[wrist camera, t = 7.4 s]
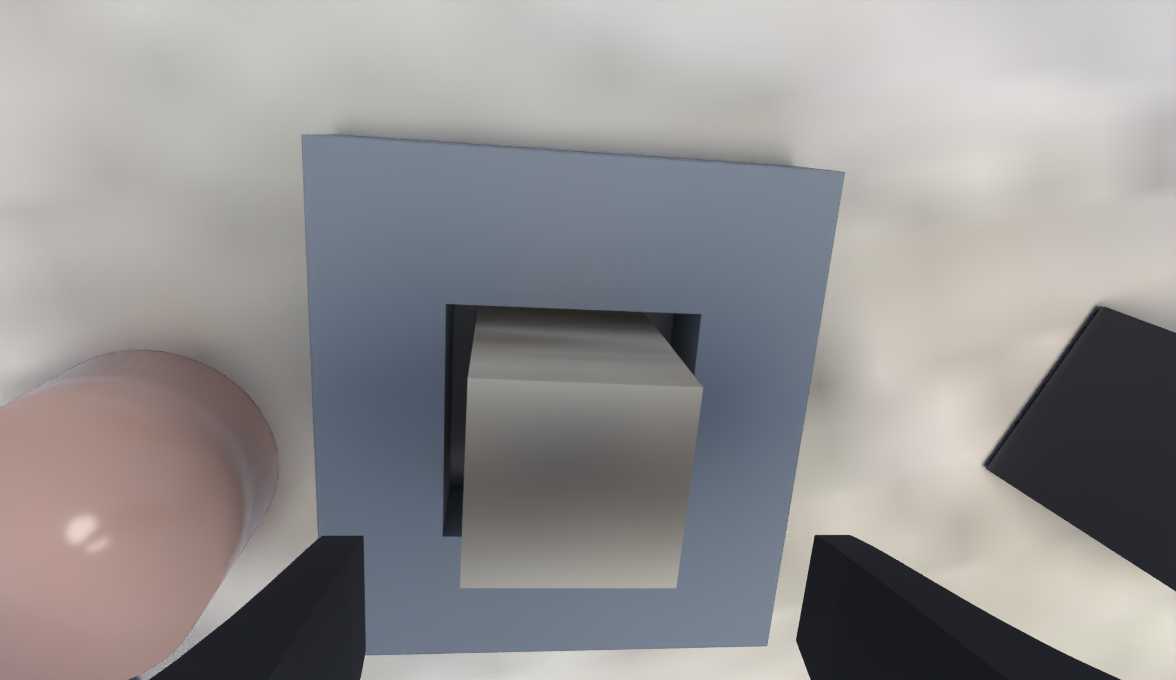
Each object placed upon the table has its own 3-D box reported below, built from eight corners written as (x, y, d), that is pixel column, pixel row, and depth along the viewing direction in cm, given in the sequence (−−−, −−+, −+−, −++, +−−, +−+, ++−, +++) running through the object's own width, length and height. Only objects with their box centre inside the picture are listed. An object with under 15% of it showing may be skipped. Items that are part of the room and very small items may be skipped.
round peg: (284, 560, 21) (218, 687, 16) (48, 561, 20) (-96, 696, 15) (272, 352, 19) (194, 426, 14) (12, 345, 18) (-163, 420, 13)
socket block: (733, 581, 23) (767, 646, 20) (347, 585, 21) (322, 656, 18) (793, 166, 19) (845, 172, 16) (334, 134, 18) (301, 134, 15)
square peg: (628, 461, 21) (676, 588, 15) (472, 457, 20) (459, 588, 14) (644, 312, 19) (703, 387, 14) (478, 303, 19) (467, 378, 13)
